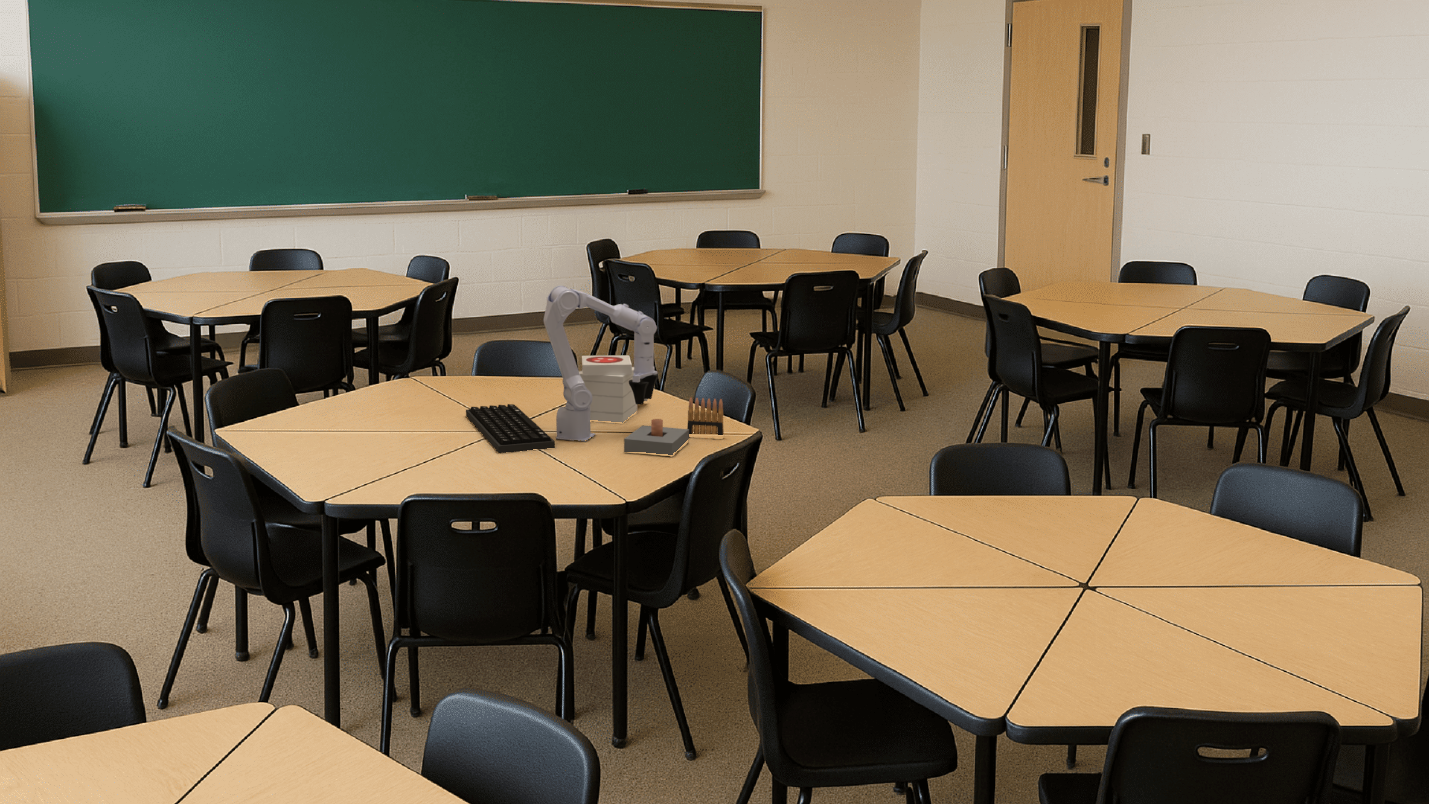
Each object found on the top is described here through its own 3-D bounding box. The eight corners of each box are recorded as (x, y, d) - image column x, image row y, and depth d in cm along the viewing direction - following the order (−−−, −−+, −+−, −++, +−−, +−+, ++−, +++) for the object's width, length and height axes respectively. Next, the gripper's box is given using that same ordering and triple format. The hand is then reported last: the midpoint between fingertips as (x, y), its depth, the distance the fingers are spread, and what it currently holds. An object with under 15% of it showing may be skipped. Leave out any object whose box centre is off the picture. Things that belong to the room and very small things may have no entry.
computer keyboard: (555, 450, 326) (554, 437, 325) (499, 455, 320) (498, 442, 319) (516, 414, 366) (516, 402, 366) (466, 418, 360) (465, 405, 359)
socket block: (624, 452, 323) (624, 438, 322) (642, 438, 338) (642, 425, 337) (672, 457, 319) (672, 443, 318) (688, 442, 334) (688, 429, 333)
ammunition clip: (723, 438, 340) (724, 398, 338) (722, 439, 339) (723, 399, 336) (687, 436, 342) (688, 396, 339) (686, 437, 340) (687, 397, 337)
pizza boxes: (654, 404, 380) (654, 350, 376) (626, 426, 352) (626, 367, 348) (599, 400, 384) (598, 346, 380) (566, 421, 356) (566, 363, 352)
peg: (649, 448, 327) (649, 421, 326) (653, 445, 330) (653, 418, 329) (660, 449, 327) (660, 422, 325) (663, 446, 330) (664, 419, 328)
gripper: (649, 361, 332) (648, 407, 335) (664, 352, 345) (664, 397, 349) (625, 359, 334) (625, 406, 337) (641, 351, 347) (641, 395, 350)
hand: (643, 401), depth 343 cm, fingers open, 7 cm apart
